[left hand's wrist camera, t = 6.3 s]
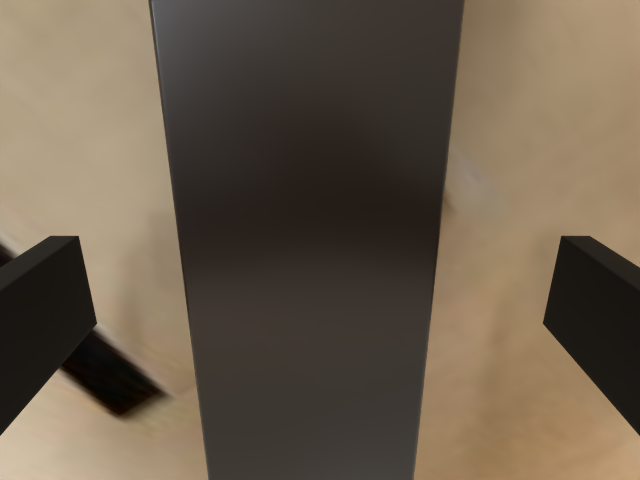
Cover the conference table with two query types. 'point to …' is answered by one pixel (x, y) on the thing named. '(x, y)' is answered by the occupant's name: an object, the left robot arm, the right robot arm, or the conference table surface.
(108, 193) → the conference table surface
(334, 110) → the metal bar
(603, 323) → the left robot arm
